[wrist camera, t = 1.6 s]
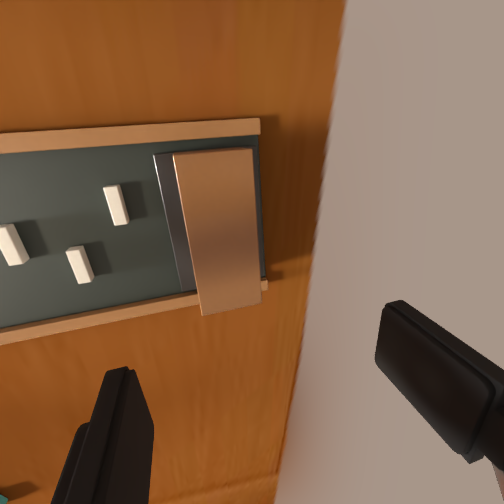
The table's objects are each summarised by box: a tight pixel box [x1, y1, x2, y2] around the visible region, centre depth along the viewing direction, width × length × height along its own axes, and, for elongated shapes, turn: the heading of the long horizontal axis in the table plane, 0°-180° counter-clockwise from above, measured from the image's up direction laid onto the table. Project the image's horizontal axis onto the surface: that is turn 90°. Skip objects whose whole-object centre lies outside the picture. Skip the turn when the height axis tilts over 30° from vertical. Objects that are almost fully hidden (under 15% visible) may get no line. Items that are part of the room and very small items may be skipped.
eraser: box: [153, 146, 264, 316], centre depth 21 cm, size 12×8×6 cm, turn 5°
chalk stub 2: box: [66, 245, 94, 284], centre depth 21 cm, size 3×1×1 cm, turn 5°
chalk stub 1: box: [0, 224, 30, 266], centre depth 19 cm, size 3×1×1 cm, turn 5°
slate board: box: [0, 118, 268, 345], centre depth 21 cm, size 16×26×1 cm, turn 95°
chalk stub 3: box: [103, 184, 129, 226], centre depth 20 cm, size 3×1×1 cm, turn 5°
